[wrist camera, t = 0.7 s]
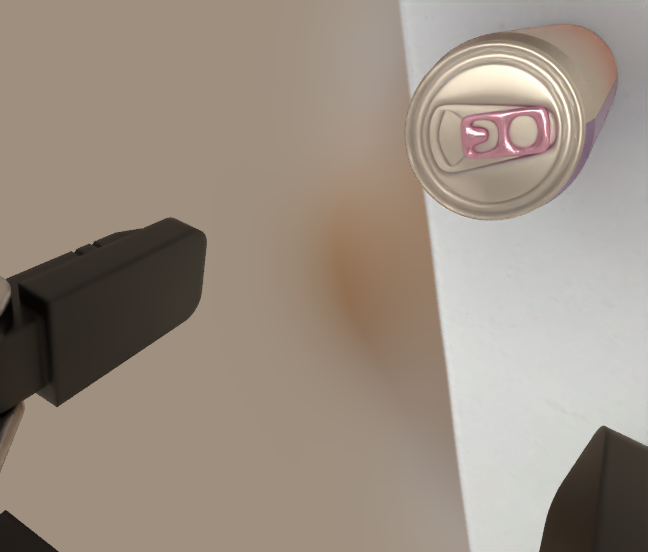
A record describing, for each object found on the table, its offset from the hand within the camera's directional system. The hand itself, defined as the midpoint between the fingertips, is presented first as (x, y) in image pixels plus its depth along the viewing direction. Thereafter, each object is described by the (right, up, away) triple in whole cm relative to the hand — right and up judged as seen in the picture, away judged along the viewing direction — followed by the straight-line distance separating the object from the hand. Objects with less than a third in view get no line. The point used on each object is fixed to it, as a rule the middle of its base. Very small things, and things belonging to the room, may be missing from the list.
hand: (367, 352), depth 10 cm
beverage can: (+12, +12, +19) cm, 25 cm away
